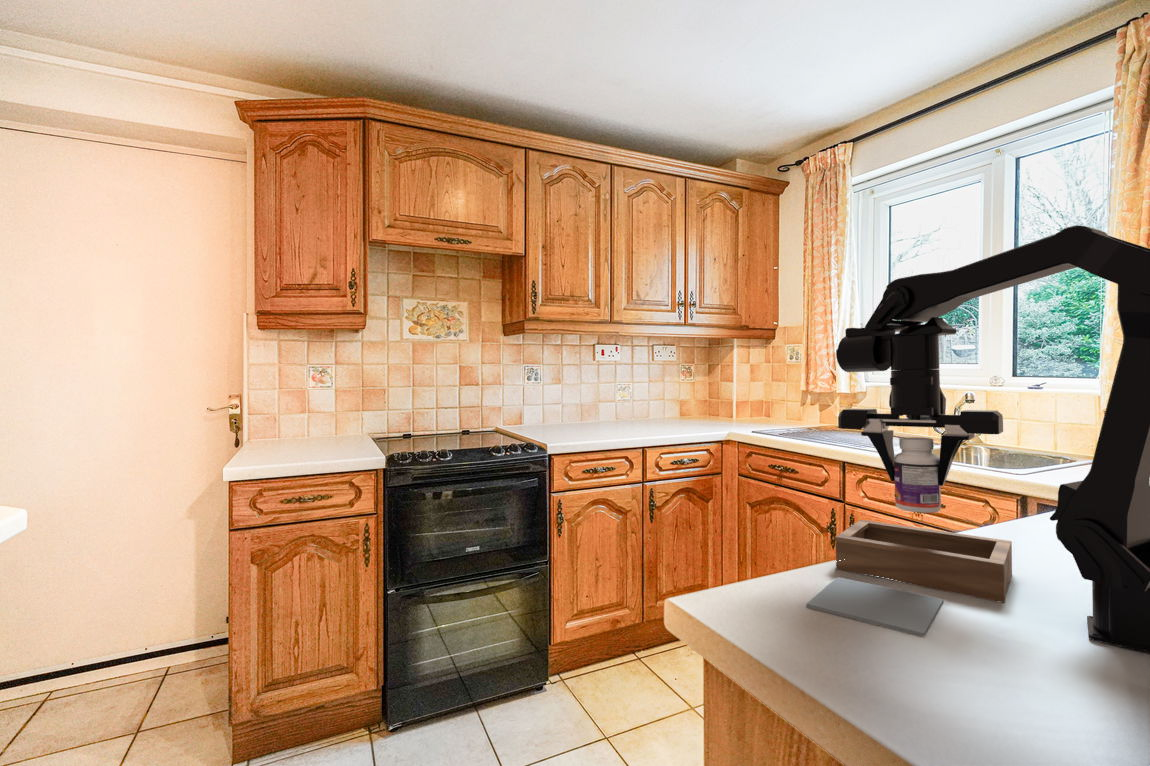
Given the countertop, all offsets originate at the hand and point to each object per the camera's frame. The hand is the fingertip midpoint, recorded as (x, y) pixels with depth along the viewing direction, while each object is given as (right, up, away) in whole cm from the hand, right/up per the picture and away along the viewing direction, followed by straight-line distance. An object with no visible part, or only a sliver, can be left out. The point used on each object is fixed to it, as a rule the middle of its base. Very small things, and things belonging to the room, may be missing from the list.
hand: (917, 483), depth 76 cm
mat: (-11, -13, -10) cm, 20 cm away
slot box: (+2, -13, +1) cm, 13 cm away
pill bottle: (0, -4, 0) cm, 4 cm away
